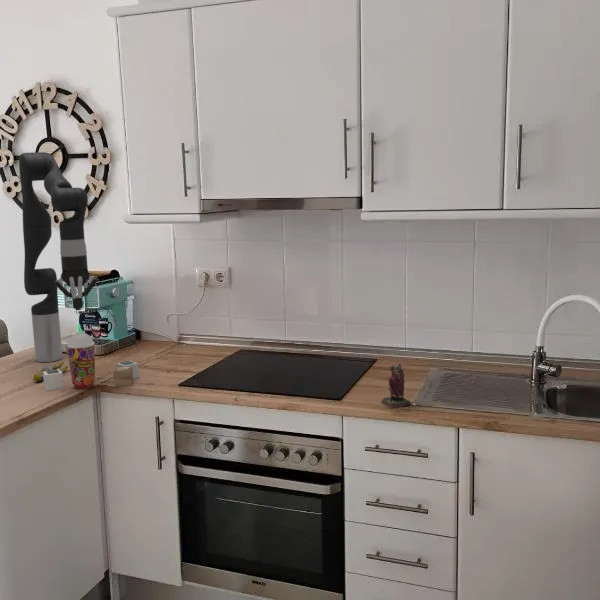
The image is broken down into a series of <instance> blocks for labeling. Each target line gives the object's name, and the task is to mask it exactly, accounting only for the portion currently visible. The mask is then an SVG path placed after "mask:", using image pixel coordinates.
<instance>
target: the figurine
mask: <svg viewBox="0 0 600 600" xmlns="http://www.w3.org/2000/svg"><path fill="white" fill-rule="evenodd" d="M389 371H390V372H391V375H390V374H389V375H388V387H389V388H388V389H389V393H390V394H389V395H390V397H388V396H387V397H384V398H382V400H381V403H382V404H383V405H385V406H386V407H388V408H389V409H391V410H393V409H401V408H404V407H406V406H409V405H410V406H411V405H412V403H411V401H410V400H408V399H406V398H405V397H404V396H405V394H404V392H405V372H404V369H403V368H402V364H401V363H398V364H397V365H396V366H395V365H394V364H392V365H390V366H389Z"/></svg>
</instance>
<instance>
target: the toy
mask: <svg viewBox="0 0 600 600" xmlns="http://www.w3.org/2000/svg"><path fill="white" fill-rule="evenodd" d="M64 363H65V362H64V361H61V362H60V363H56V364H53V365H51V366H49V367H48V366H43V367H41V368H39V369H37V370H36V373H35V374H34V375H33V379H32V381H33V382H34V383H38V382H42V380H43V372H44V371H49V370H56V369H59V370H60V371H61V372H62V373H65V372H66V371H67V370H68V369H69V365H65V367H63V366H64ZM43 381H44V380H43Z"/></svg>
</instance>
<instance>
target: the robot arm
mask: <svg viewBox="0 0 600 600" xmlns="http://www.w3.org/2000/svg"><path fill="white" fill-rule="evenodd" d="M18 168H19V179H20V188H21V196H22V197H21V199H22V234H23V245H24V246H23V249H24V263H23V264H24V267H23V268H24V269H23V270H24V271H23V272H24V273H23V285H24V290H25V293H26V294H27V295H29V296H41V295H46V297H45V298H44V299H43V300H41V301H39V302H38V303H35V304H33V305H31V308H30V311H31V323H32V333H33V335H32V336H33V343H34V356H35V362H38V363H48V362H49V363H51V362H56V361H60V360H62V359H63V349H62V347H63V346H62V336H61V335H62V333H61V324H60V312H59V311H60V309H59V300H58V297H59V296H58V289H59V290H60V291H61V293H63V294H64V295H65V296H66V297H67V298H71V299H72V308H73V309H74V310H75V311H81V309H83V308H84V307H83V306H84V305H83V298H84V297H86V296H89V293H90V292H91V291H92V290H93V288H94V286H95V285H96V284H97V282H98V280H97V278H96V277H93V276H91V274H90V271H89V269H88V255H87V253H88V252H87V251H88V250H87V244H86V241H85V239H86V238H85V227H84V226H85V218H86V217H85V216H86V212H87V207H88V204H89V203H88V201H89V197H88V194H87V191H86V190H85V189H83V188H82V187H73V186H72V184H71V182H69V181H68V179H67V178H65V177H64V176H63V173H62V170H61V169H60V165H58V163H57V160H56V159H55V157H54V156H53V155H52V154H51V153H49V152H42V151H41V152H40V151H38V152H37V151H36V152H23V153H21V154H20V155H19V159H18ZM36 181H37V182H39V181H43V186H44V189H45V191H46V193H47V194H48V195H49V196H50V203H51V207H52V208H53V210H55V211H57V212H59V213H65V212H74V213H73V216H71V217H70V218H65V219H63V220H60V222H59V225H58V226H59V238H60V244H59V245H60V246H59V247H60V260H61V274H60V278H58V277H57V273H56V270H55V268H51V267H46V268H37V269H36V266H37V265H36V264H37V262H38V259H39V257H40V255H41V254H42V252H43V251H44V249H45V248H46V247H47V245H48V243H49V242H50V240H51V237H52V216H51V214H50V212H49V211H48V209H47V208H46V206H45V205H44V204H43V203H42V202H41V200H40V199H39V198H38V196H37V194H36V192H35V190H34V186H33V182H36ZM87 281H88V283H89V284H88V285H87V286H86V288H85V289H84V290H83V287H84V285H85V284H86V283H87ZM64 283H65V284H66V285H67V287H69V288H70V292H69V291H68V290H67V289H66V287H65V286H64ZM76 287H77V292H76Z"/></svg>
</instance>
